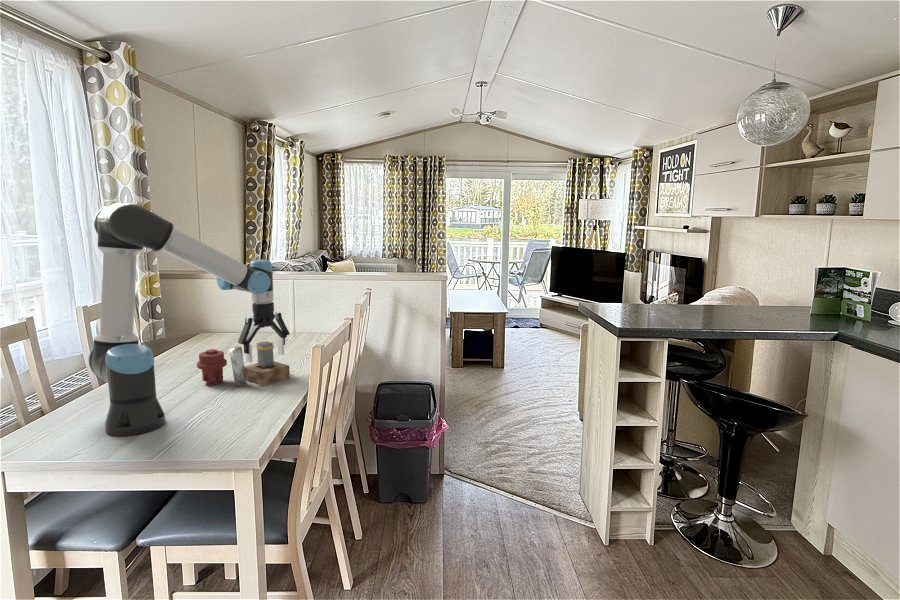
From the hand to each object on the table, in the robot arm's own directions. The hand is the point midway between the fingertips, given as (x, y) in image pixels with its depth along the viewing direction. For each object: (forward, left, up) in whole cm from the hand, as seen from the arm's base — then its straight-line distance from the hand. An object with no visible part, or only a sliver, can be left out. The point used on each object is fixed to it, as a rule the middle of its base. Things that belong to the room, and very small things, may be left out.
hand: (265, 357), depth 200 cm
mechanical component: (-15, +11, -8) cm, 20 cm away
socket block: (0, 0, -8) cm, 8 cm away
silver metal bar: (-10, +1, -8) cm, 13 cm away
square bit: (0, 0, -8) cm, 8 cm away
